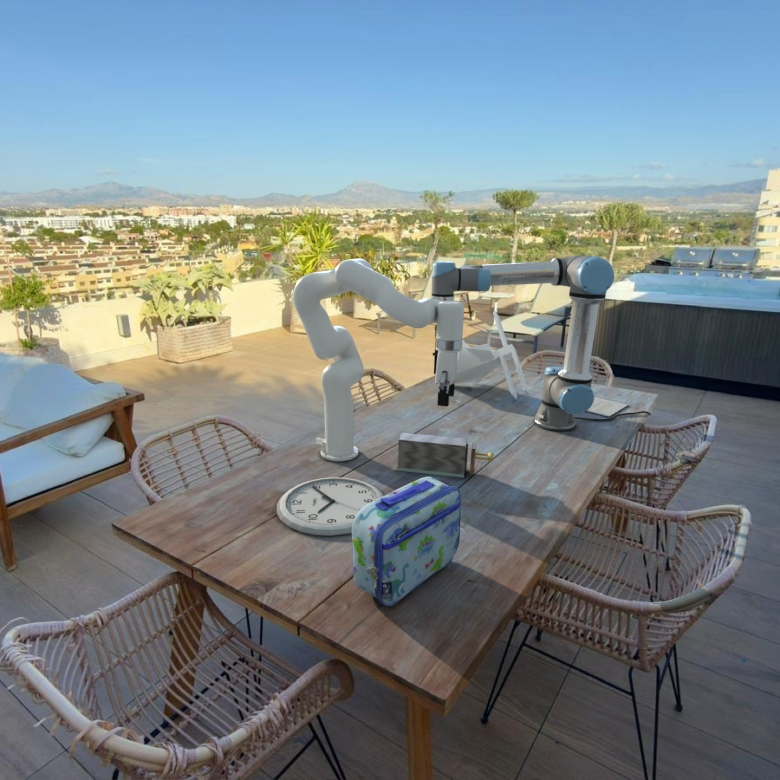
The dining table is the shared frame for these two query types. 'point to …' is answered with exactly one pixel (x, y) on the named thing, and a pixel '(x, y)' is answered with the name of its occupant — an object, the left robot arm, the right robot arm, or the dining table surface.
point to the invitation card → (605, 407)
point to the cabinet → (432, 454)
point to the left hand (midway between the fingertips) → (445, 400)
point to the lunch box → (405, 538)
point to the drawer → (476, 457)
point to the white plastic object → (488, 362)
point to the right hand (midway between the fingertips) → (438, 369)
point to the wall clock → (325, 505)
